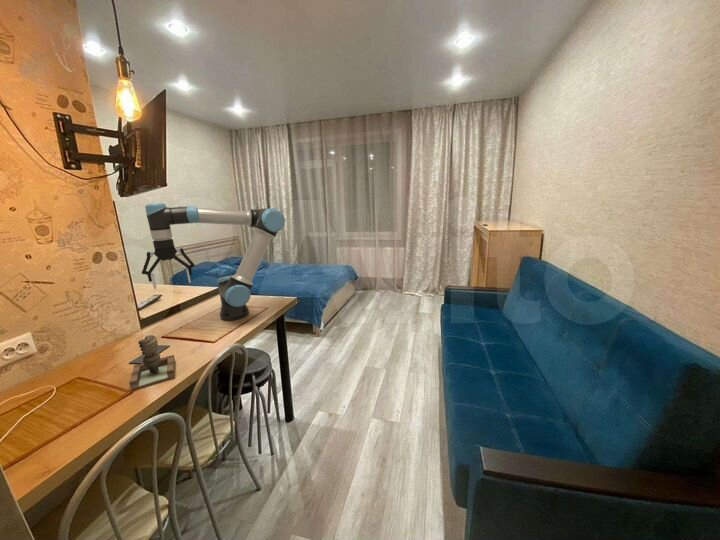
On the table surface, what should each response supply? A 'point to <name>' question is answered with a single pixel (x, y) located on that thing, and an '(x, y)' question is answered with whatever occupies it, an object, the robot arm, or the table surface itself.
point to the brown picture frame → (152, 374)
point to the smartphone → (140, 359)
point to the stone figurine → (150, 353)
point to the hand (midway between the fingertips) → (173, 285)
